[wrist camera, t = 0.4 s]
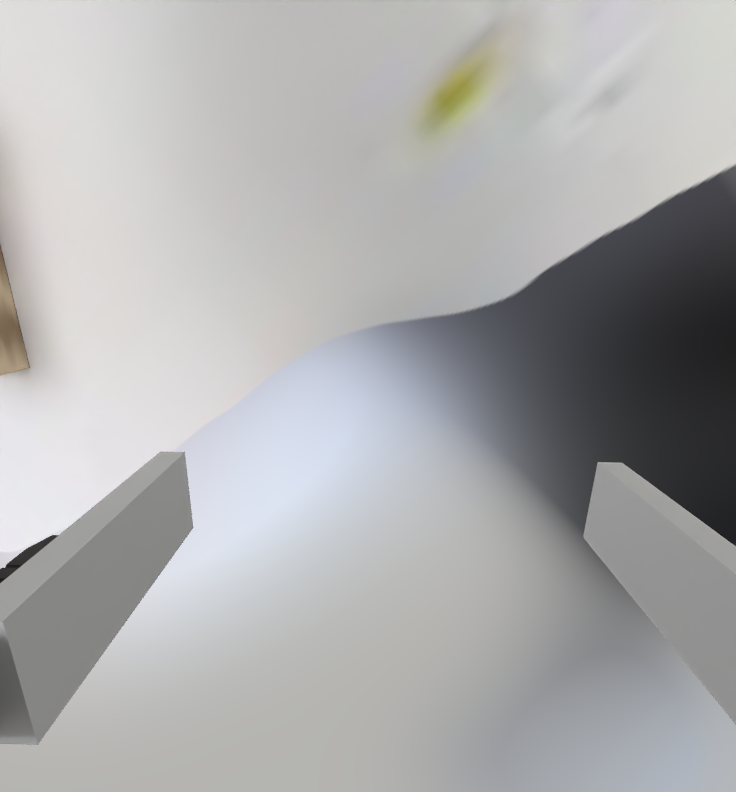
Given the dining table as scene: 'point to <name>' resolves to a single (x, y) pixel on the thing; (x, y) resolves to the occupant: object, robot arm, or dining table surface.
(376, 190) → the dining table surface
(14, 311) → the wooden holder
